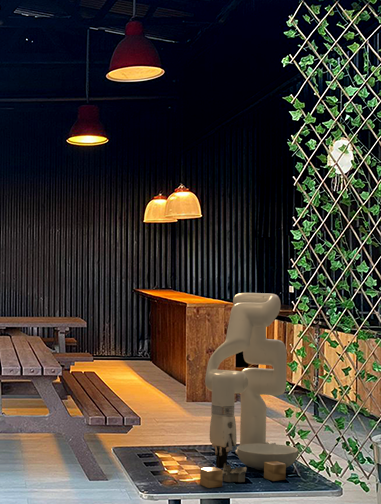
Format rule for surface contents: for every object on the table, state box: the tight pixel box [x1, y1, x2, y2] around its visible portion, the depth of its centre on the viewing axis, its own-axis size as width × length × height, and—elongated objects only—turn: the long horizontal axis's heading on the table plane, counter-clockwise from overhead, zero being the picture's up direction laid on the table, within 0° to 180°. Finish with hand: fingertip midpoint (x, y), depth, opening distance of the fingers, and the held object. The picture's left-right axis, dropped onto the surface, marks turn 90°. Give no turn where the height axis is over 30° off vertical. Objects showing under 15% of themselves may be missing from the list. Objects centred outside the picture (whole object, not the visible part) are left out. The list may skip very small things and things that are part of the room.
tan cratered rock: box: [222, 463, 247, 483], centre depth 270 cm, size 11×8×4 cm
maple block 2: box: [263, 461, 287, 482], centre depth 272 cm, size 5×5×5 cm
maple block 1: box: [199, 466, 224, 489], centre depth 260 cm, size 5×5×5 cm
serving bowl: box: [236, 443, 299, 472], centre depth 288 cm, size 21×21×7 cm
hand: (221, 467), depth 277 cm, fingers closed
